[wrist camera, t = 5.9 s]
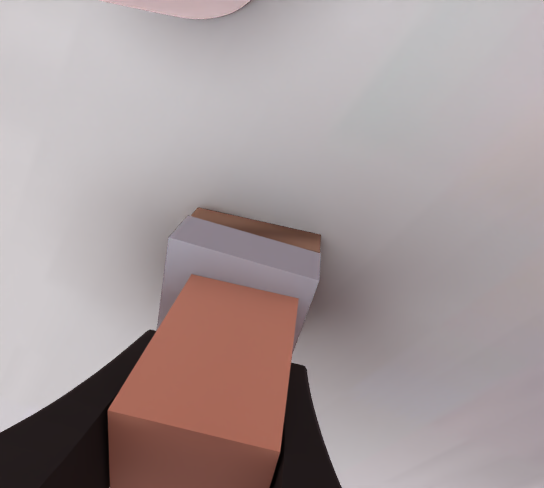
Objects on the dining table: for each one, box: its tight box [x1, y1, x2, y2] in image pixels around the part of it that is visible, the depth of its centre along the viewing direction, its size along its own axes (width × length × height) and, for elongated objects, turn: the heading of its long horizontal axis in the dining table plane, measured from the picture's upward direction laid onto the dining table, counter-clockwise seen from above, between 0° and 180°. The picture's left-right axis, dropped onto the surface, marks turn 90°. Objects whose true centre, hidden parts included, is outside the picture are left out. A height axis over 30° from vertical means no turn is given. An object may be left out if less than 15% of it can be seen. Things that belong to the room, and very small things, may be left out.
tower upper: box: [157, 215, 321, 354], centre depth 16 cm, size 6×6×2 cm
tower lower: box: [191, 208, 321, 253], centre depth 17 cm, size 6×6×2 cm
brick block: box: [108, 274, 299, 488], centre depth 12 cm, size 4×4×6 cm
